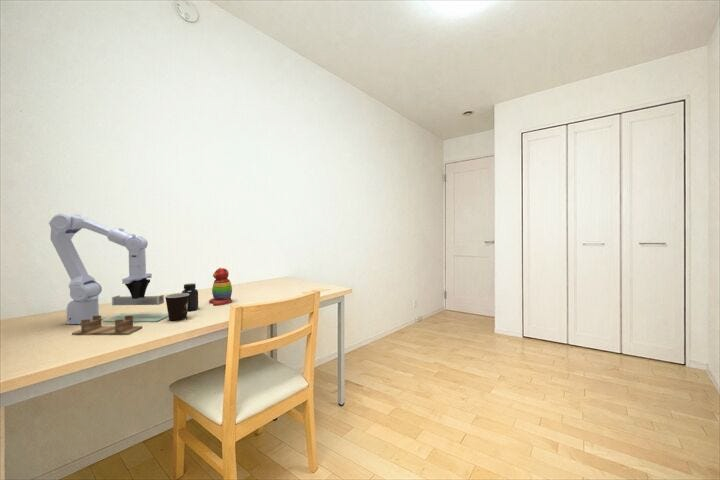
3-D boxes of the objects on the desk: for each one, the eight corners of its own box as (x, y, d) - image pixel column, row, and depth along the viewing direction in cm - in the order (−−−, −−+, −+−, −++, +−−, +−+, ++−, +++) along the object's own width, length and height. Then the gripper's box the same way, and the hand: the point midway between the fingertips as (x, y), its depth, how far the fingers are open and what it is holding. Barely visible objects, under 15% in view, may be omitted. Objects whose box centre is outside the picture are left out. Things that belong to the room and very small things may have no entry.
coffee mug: (178, 322, 123) (178, 298, 123) (160, 321, 125) (160, 297, 124) (199, 314, 134) (198, 292, 134) (182, 313, 136) (182, 291, 136)
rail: (112, 305, 126) (111, 297, 126) (118, 303, 130) (118, 295, 129) (158, 304, 126) (158, 296, 126) (163, 302, 130) (163, 295, 130)
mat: (102, 322, 123) (102, 320, 123) (121, 315, 133) (121, 313, 133) (157, 322, 123) (157, 320, 123) (172, 315, 133) (172, 313, 133)
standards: (71, 334, 109) (71, 320, 108) (89, 328, 116) (88, 314, 115) (128, 334, 109) (127, 320, 109) (142, 328, 116) (141, 314, 116)
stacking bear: (207, 302, 156) (207, 268, 155) (228, 299, 163) (227, 266, 162) (214, 306, 148) (214, 270, 147) (235, 302, 155) (235, 268, 154)
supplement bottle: (201, 308, 143) (200, 283, 143) (186, 312, 138) (186, 286, 137) (193, 306, 147) (193, 282, 147) (178, 310, 141) (178, 284, 141)
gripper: (134, 268, 120) (135, 301, 121) (158, 263, 135) (159, 293, 135) (116, 268, 120) (117, 301, 121) (142, 263, 134) (143, 293, 135)
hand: (138, 297), depth 128 cm, fingers closed on rail, 3 cm apart
